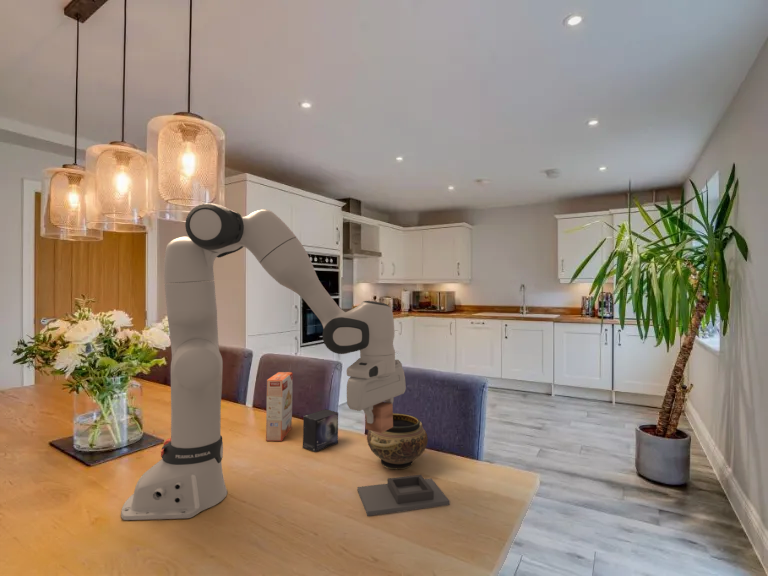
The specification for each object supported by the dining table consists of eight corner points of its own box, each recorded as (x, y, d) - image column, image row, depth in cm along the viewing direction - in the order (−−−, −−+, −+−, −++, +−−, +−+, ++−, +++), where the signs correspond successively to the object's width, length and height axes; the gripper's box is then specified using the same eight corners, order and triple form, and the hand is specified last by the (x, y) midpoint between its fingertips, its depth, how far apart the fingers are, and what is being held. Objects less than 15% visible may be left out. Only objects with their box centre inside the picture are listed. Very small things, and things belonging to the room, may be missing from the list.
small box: (315, 453, 128) (315, 419, 128) (301, 448, 132) (301, 415, 132) (339, 443, 137) (339, 411, 137) (325, 439, 141) (325, 408, 141)
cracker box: (283, 441, 138) (283, 379, 138) (265, 441, 138) (265, 379, 138) (293, 428, 152) (293, 371, 152) (277, 427, 152) (277, 371, 152)
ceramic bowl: (393, 495, 107) (405, 443, 105) (342, 463, 117) (353, 414, 115) (435, 463, 127) (446, 418, 126) (389, 438, 137) (399, 396, 135)
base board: (367, 516, 92) (367, 502, 92) (357, 490, 104) (357, 479, 104) (449, 504, 97) (449, 492, 97) (431, 482, 109) (431, 470, 109)
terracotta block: (365, 429, 103) (364, 405, 103) (377, 423, 107) (376, 400, 107) (381, 433, 100) (380, 408, 100) (393, 427, 104) (392, 403, 104)
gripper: (391, 357, 114) (392, 406, 114) (341, 370, 98) (343, 428, 98) (410, 359, 110) (411, 410, 110) (361, 373, 94) (363, 433, 94)
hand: (379, 419), depth 104 cm, fingers closed on terracotta block, 5 cm apart
